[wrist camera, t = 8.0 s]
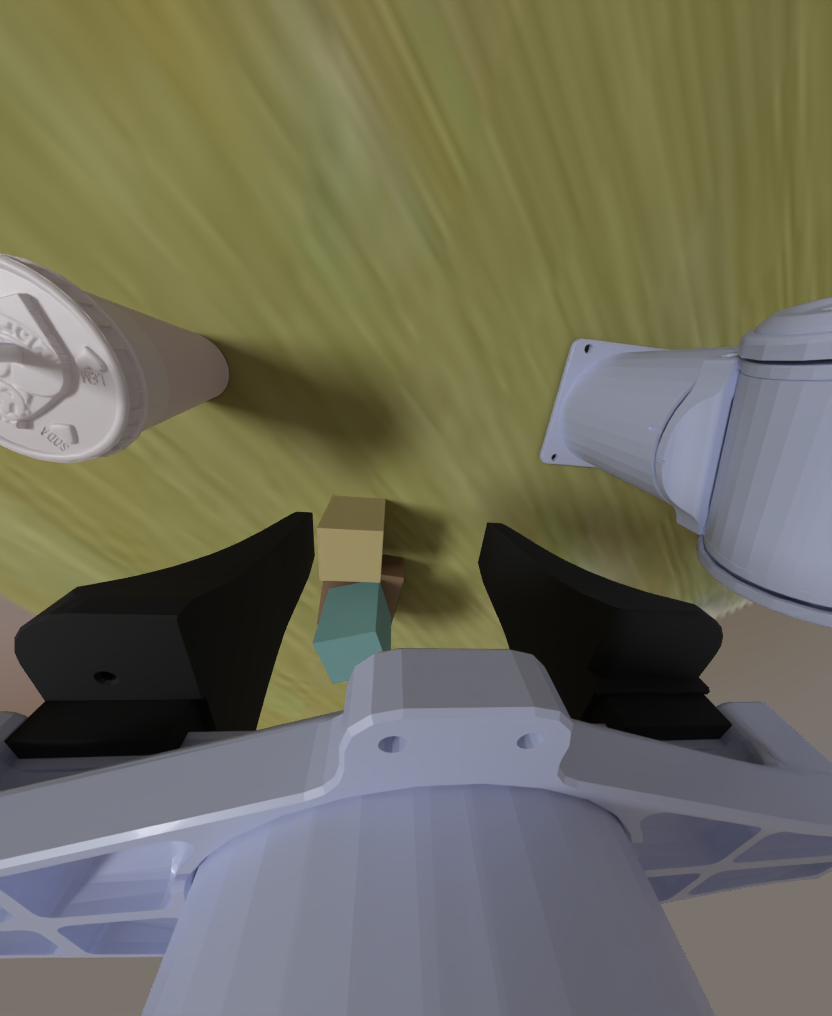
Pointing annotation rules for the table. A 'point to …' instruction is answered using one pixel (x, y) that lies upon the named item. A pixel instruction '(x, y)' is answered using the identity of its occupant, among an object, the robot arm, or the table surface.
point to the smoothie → (90, 368)
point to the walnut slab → (389, 581)
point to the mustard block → (351, 539)
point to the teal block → (352, 628)
